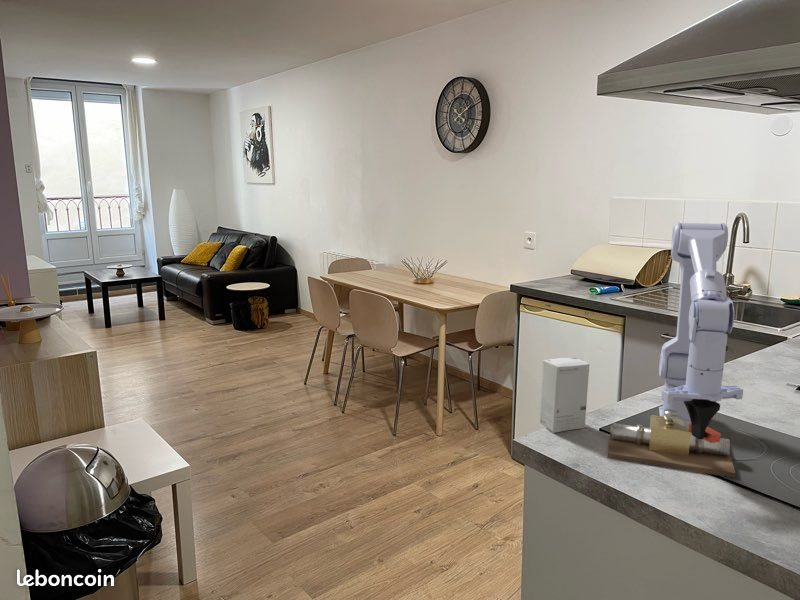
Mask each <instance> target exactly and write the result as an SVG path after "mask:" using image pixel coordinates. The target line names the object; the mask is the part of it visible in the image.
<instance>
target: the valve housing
mask: <svg viewBox="0 0 800 600" xmlns="http://www.w3.org/2000/svg"><path fill="white" fill-rule="evenodd" d="M649 419H650V420H649V427H644V426H643V425H642V424H636V425H628V424H622V423H621V424H620V423H616V422H615V423H614V422H613V423H612V425H613V432H612V439H616V440H622V441H629V442H636V444H637V445H641V443H642V444H649V450H651V451H657V452H664V453H670V454H677V455H683V456H689V451H696V453H697V454H702V453H709V454H716V455H723V456H729V453H730V450H731V442H730V439H728V438H723V437H722V438H721V437H720V442H715V443H710V442H708V441H706V440H704V439H697V438H696V437H694V436H693V435H692V433H691V432H689V429H688V428H686V427H684V426H682V425H680V424H678V423H676V422H675V421H668V420H666V419H664V417H663V416H660V415H654V414H651V415H650V418H649Z"/></svg>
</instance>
